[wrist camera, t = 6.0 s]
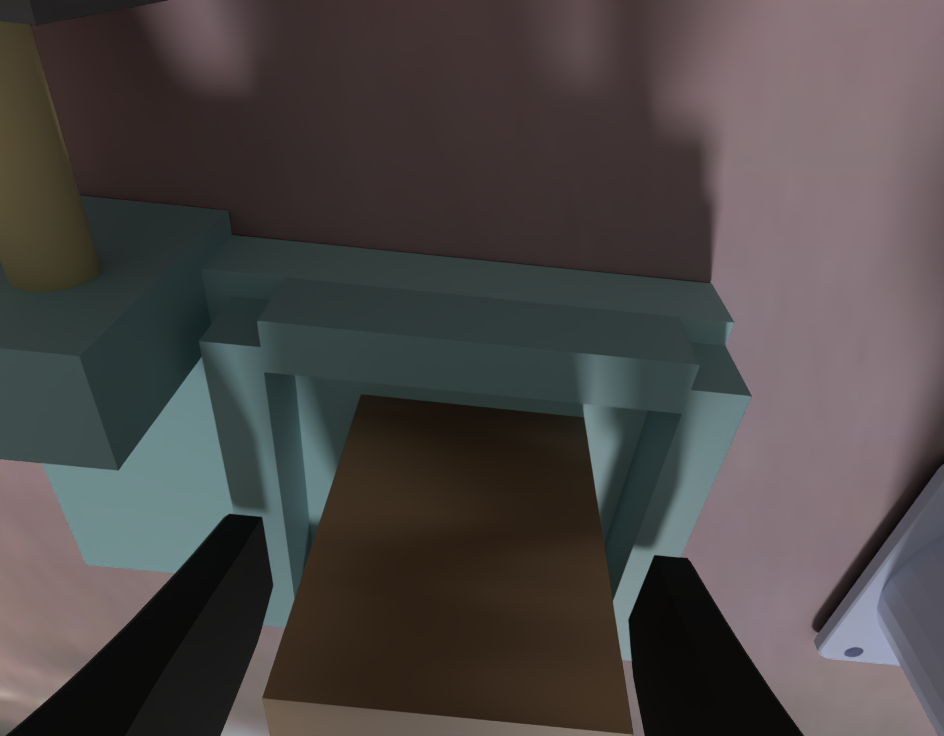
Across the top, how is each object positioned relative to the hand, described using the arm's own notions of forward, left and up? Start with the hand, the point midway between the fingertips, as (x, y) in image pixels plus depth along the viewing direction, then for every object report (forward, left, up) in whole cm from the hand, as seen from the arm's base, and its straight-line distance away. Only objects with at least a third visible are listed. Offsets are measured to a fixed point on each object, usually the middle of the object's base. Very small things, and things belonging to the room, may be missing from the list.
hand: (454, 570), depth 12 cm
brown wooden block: (0, 0, -2) cm, 2 cm away
